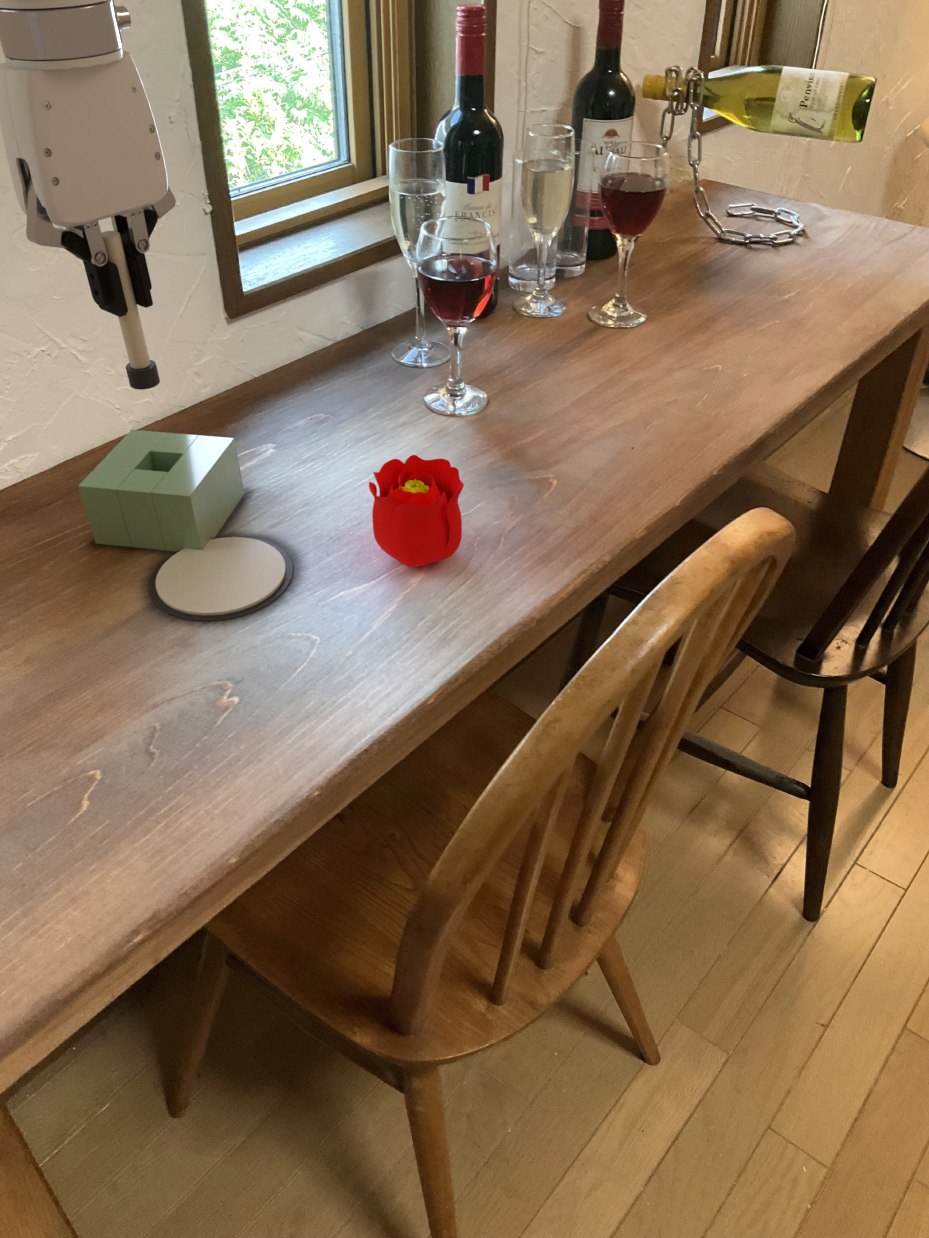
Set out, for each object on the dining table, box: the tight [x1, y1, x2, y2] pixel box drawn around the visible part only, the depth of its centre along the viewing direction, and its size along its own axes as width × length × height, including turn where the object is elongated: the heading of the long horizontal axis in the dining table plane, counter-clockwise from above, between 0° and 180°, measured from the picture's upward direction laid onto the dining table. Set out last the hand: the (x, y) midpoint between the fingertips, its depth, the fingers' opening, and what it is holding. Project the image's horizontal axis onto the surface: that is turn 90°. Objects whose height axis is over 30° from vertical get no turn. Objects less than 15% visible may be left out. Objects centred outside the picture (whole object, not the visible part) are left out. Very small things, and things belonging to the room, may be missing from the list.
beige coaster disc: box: [148, 535, 294, 623], centre depth 81 cm, size 12×12×1 cm
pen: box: [101, 230, 161, 391], centre depth 75 cm, size 2×2×12 cm
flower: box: [368, 454, 465, 568], centre depth 81 cm, size 8×8×8 cm
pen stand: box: [77, 429, 246, 553], centre depth 87 cm, size 10×10×6 cm
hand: (125, 305), depth 75 cm, fingers closed on pen, 1 cm apart
